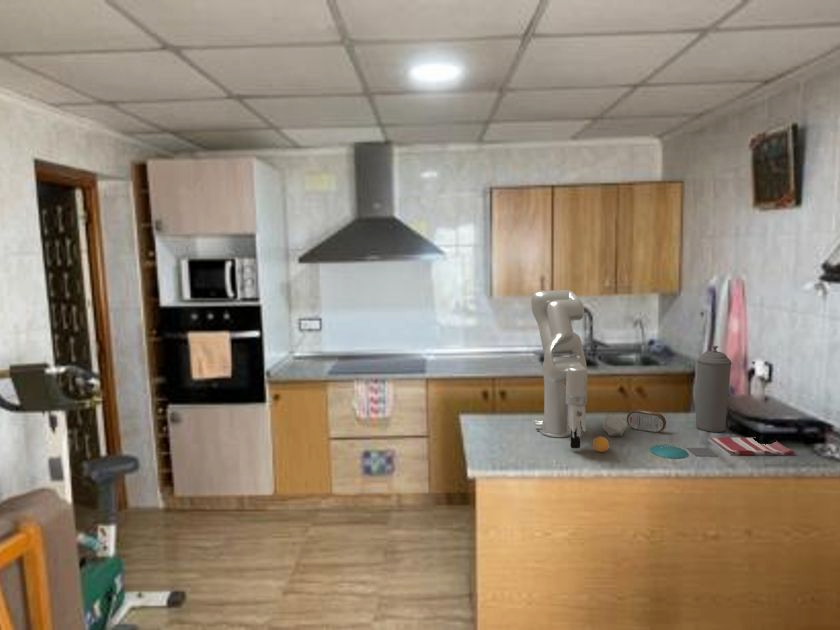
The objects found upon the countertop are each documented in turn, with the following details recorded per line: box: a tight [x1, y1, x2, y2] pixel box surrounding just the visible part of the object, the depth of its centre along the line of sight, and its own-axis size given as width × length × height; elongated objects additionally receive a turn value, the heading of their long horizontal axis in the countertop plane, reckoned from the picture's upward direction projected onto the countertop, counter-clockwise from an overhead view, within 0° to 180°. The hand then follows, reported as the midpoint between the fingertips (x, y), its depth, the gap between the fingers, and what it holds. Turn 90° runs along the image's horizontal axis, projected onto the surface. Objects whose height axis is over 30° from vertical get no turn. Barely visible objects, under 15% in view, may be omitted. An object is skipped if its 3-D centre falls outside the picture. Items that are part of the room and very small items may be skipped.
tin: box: [626, 408, 667, 434], centre depth 229 cm, size 15×3×8 cm, turn 58°
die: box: [602, 414, 628, 437], centre depth 225 cm, size 8×9×10 cm
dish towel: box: [708, 436, 795, 457], centre depth 209 cm, size 17×23×3 cm
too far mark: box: [686, 447, 719, 457], centre depth 205 cm, size 8×8×1 cm
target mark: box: [649, 444, 689, 460], centre depth 206 cm, size 13×13×1 cm
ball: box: [592, 436, 610, 453], centre depth 207 cm, size 6×6×6 cm
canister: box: [695, 345, 733, 433], centre depth 229 cm, size 13×13×35 cm
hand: (575, 447), depth 207 cm, fingers closed
